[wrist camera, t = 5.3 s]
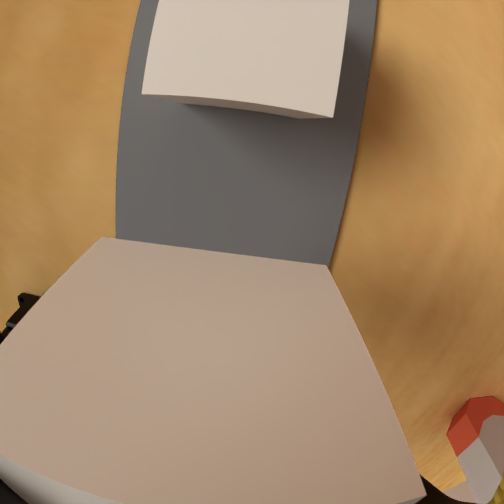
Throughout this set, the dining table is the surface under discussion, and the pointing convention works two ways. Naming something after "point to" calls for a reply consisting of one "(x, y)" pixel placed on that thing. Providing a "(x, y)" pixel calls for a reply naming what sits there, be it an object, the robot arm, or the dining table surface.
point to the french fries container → (481, 447)
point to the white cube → (196, 387)
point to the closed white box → (248, 54)
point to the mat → (239, 162)
